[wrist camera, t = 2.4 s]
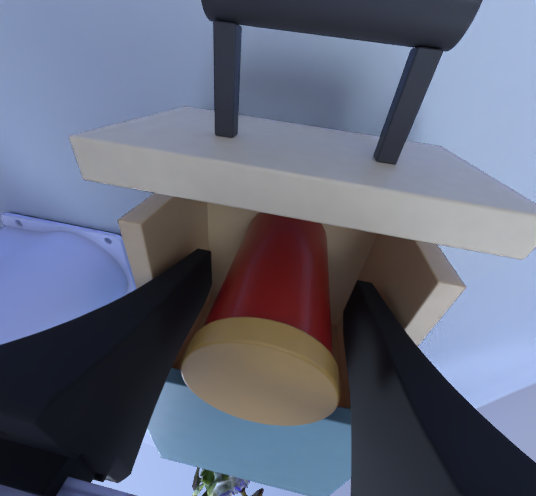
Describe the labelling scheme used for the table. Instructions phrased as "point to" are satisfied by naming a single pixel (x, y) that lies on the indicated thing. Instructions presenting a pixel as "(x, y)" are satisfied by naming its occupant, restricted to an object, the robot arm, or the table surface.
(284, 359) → the tea tin
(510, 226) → the drawer
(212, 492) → the passion flower
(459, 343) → the table surface
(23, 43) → the table surface
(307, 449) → the cabinet
